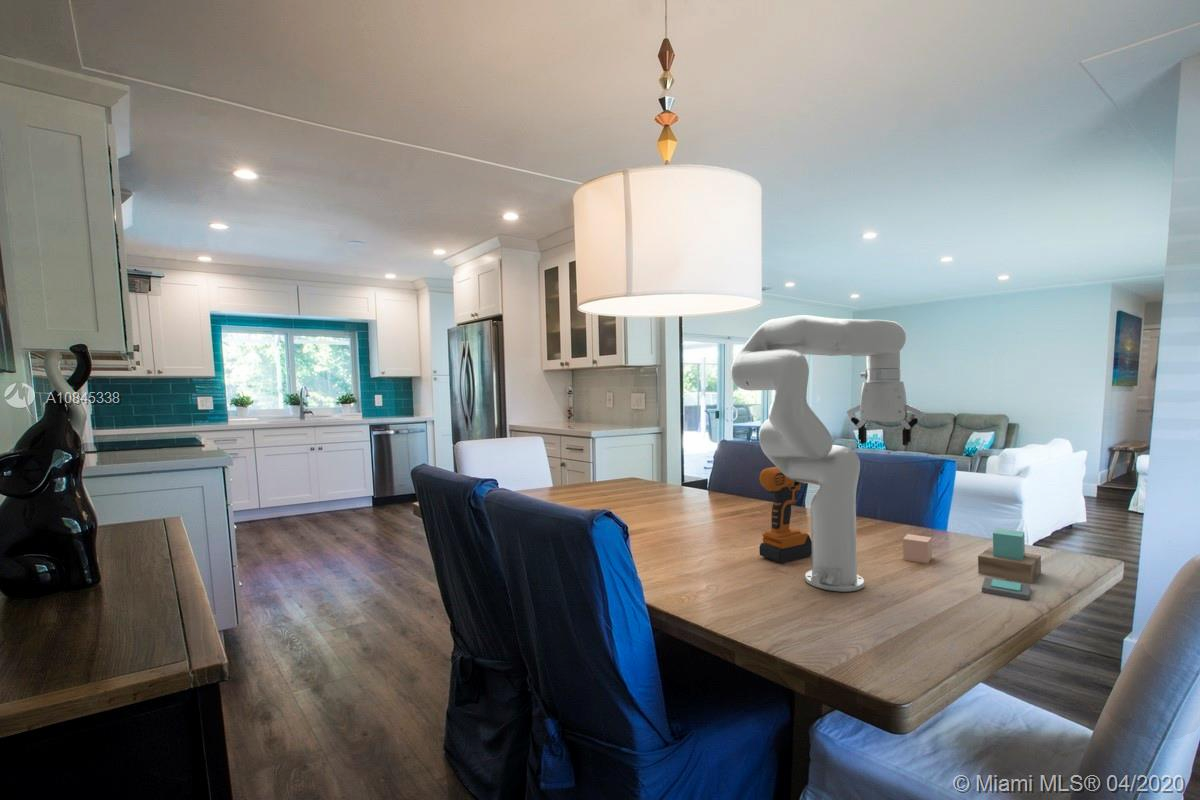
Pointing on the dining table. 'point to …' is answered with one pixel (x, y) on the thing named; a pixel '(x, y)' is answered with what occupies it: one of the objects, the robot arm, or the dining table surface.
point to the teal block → (1008, 544)
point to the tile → (1006, 588)
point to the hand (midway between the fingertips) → (884, 444)
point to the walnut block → (1010, 566)
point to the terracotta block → (917, 548)
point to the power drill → (782, 520)
